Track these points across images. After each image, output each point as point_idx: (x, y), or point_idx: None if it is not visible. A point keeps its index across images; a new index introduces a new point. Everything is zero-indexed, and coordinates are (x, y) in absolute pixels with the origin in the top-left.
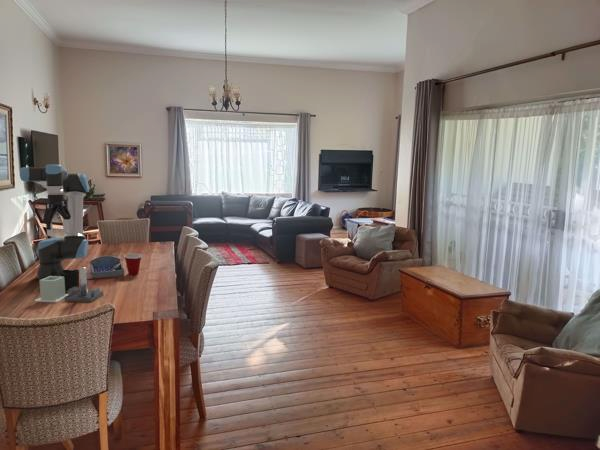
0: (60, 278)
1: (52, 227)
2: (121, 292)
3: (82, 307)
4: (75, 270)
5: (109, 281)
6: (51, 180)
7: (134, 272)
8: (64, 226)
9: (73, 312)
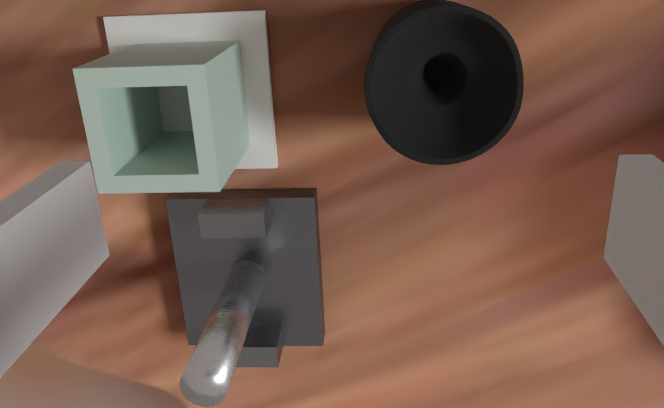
0: (171, 192)
1: (19, 354)
2: (385, 397)
3: (108, 335)
4: (510, 101)
5: None
6: None
7: None
8: (660, 237)
9: None
